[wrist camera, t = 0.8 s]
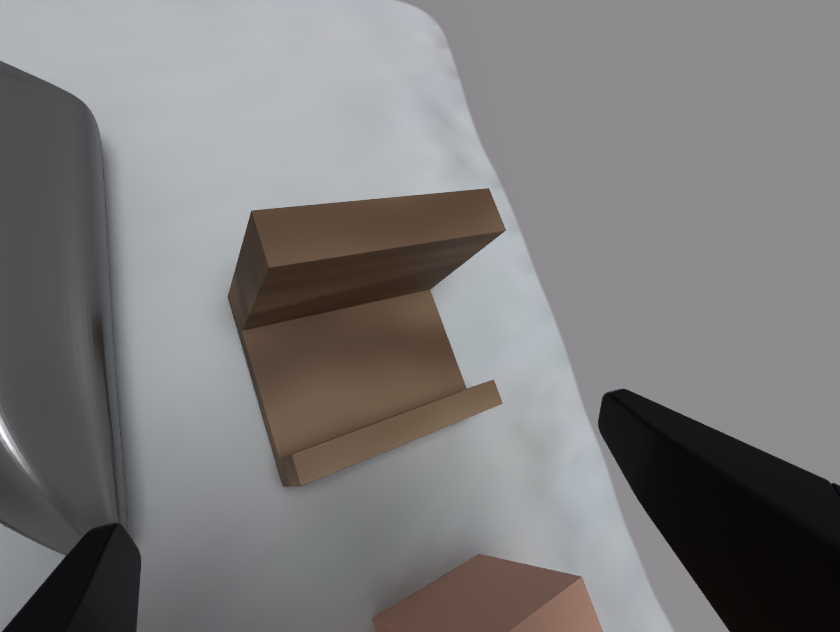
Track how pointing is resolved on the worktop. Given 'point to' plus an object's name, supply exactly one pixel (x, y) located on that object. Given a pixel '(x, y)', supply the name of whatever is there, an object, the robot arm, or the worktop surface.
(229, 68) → the worktop surface
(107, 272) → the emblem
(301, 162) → the worktop surface
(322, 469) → the board
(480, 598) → the cabinet block
